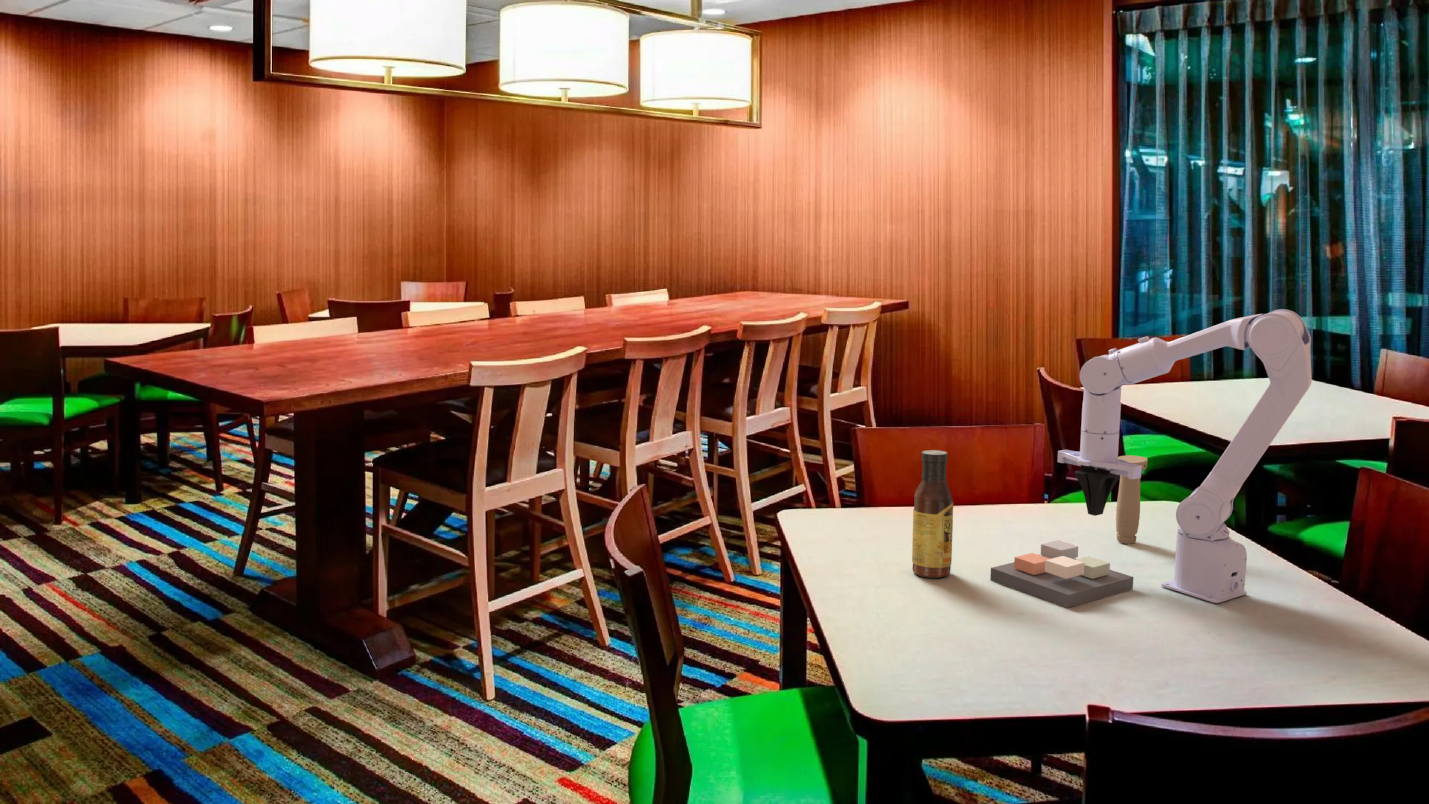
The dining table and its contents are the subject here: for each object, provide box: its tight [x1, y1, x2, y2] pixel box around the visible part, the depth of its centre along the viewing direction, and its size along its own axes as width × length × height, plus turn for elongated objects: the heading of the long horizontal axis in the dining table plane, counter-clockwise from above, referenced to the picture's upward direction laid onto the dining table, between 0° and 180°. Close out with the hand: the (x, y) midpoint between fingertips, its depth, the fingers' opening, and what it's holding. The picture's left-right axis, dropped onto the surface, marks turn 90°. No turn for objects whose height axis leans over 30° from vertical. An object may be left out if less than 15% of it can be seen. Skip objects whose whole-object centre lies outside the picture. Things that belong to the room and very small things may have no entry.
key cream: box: [1045, 556, 1085, 579], centre depth 162 cm, size 4×4×2 cm
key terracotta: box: [1013, 552, 1049, 575], centre depth 167 cm, size 4×4×2 cm
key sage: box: [1075, 556, 1111, 579], centre depth 166 cm, size 4×4×2 cm
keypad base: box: [989, 556, 1134, 609], centre depth 167 cm, size 15×15×2 cm
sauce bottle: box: [911, 449, 954, 579], centre depth 171 cm, size 7×6×20 cm
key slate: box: [1040, 539, 1079, 559], centre depth 170 cm, size 4×4×2 cm
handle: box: [1115, 454, 1148, 545], centre depth 188 cm, size 5×6×15 cm
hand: (1095, 514), depth 173 cm, fingers closed
